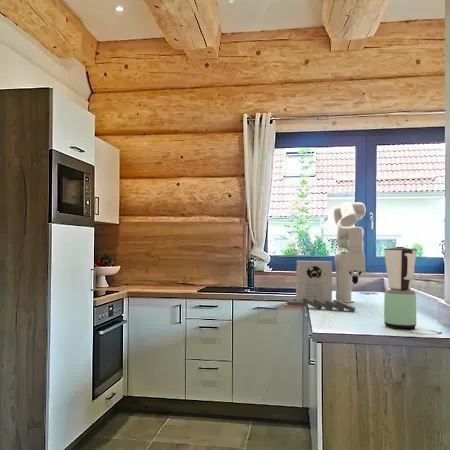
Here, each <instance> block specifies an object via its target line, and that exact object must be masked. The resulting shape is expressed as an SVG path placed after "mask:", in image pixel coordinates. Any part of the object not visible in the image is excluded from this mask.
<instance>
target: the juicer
mask: <svg viewBox="0 0 450 450" xmlns="http://www.w3.org/2000/svg"><path fill="white" fill-rule="evenodd" d="M417 250H418V249H416V248H415V249H413V248H407V247H404V246H396V247H389V248H383V251H384V260H385V261H384V262H385V268H386V275H387V281H388V286H389V287H388V288H386V289H385V292H384V299H383V300H384V301H383V303H384V304H383V305H384V306H383V307H384V308H383V310H384V311H383V312H384V313H383V317H384V318H383V323H384V325H385V327H391V328H392V329H393V330H399V329H410V330H415V331H416V326H417V294H416V292H415V290H414V289H413V288H412V285H413V278H414V277H415V265H416V259H417Z"/></svg>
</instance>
